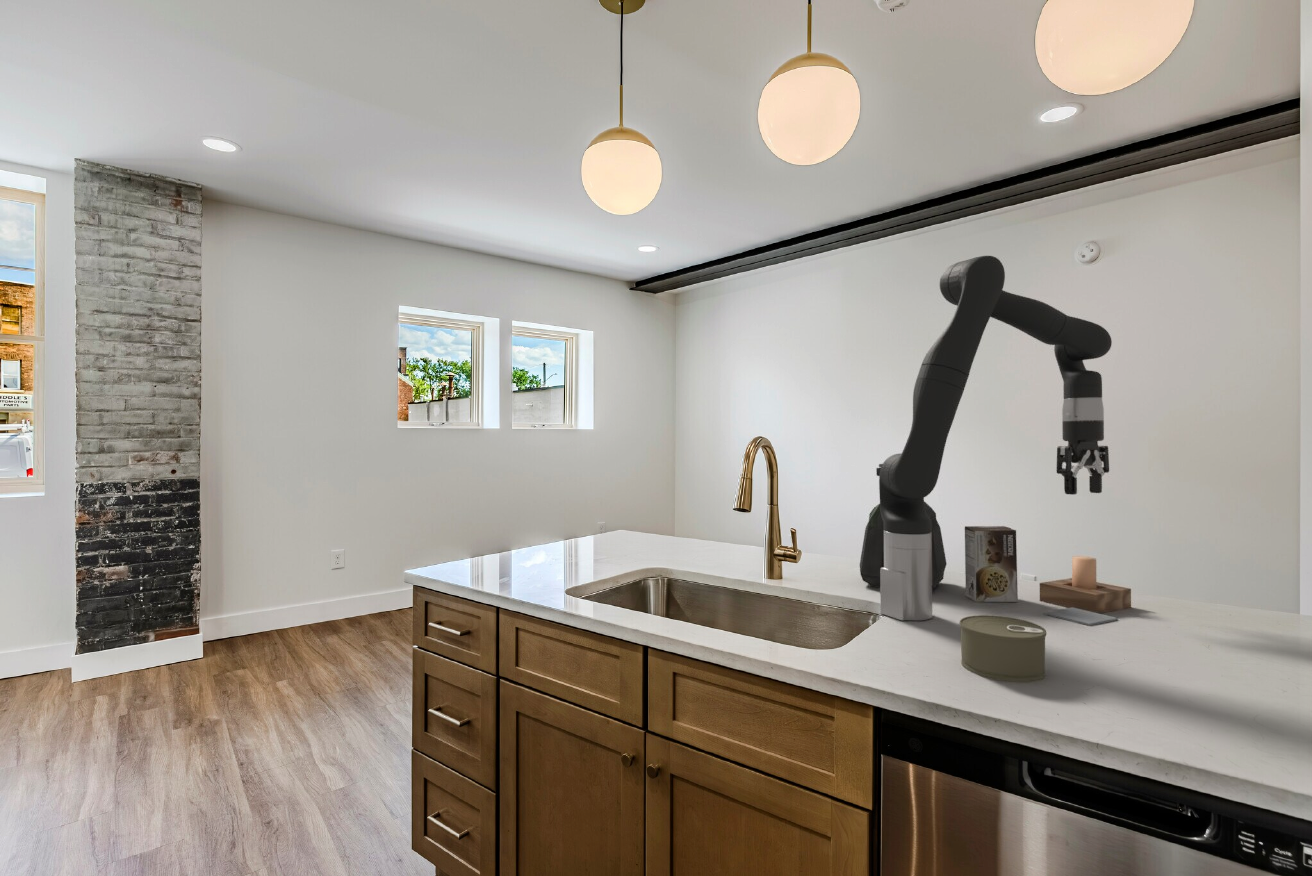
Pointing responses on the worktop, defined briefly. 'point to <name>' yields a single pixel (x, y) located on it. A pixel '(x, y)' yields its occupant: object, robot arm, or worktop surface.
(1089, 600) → the bore block
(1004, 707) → the worktop surface
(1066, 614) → the rubber mat
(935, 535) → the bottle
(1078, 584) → the peach orange cylinder
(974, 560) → the coffee box
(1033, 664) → the can
